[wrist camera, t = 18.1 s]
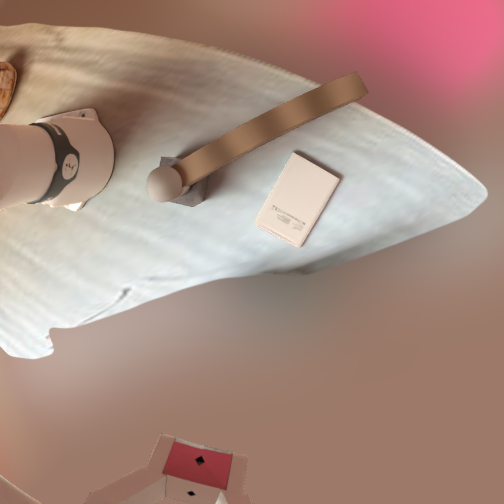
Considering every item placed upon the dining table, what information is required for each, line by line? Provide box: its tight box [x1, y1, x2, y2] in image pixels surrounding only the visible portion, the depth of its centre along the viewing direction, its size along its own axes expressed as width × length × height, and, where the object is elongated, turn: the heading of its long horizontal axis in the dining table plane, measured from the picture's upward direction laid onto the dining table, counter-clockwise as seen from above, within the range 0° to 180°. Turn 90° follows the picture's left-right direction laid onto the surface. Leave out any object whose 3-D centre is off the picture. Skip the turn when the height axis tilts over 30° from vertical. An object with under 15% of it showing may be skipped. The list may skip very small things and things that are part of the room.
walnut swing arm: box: [146, 72, 368, 202], centre depth 36 cm, size 30×4×5 cm, turn 118°
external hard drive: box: [254, 152, 340, 248], centre depth 47 cm, size 2×8×12 cm
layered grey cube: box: [159, 157, 209, 207], centre depth 44 cm, size 6×6×6 cm
